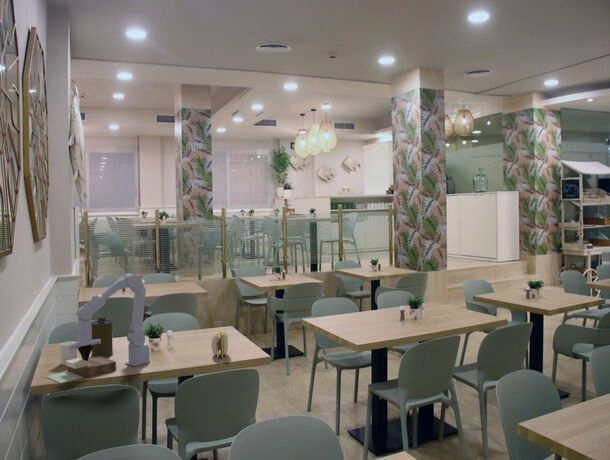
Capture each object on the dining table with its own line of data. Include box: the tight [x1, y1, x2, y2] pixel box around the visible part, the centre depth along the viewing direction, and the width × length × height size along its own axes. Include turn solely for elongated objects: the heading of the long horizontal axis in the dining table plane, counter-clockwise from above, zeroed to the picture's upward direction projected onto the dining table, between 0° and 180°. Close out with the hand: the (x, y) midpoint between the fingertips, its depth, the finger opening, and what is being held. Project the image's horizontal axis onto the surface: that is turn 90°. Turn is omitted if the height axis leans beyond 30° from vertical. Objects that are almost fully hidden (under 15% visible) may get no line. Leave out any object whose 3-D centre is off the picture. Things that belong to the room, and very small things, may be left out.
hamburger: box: [211, 329, 229, 359], centre depth 266 cm, size 12×8×12 cm
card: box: [65, 357, 88, 369], centre depth 236 cm, size 6×9×2 cm, turn 50°
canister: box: [90, 315, 114, 358], centre depth 267 cm, size 11×10×20 cm
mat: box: [45, 370, 84, 384], centre depth 231 cm, size 10×14×1 cm
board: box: [67, 356, 117, 379], centre depth 241 cm, size 15×16×4 cm
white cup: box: [59, 340, 78, 366], centre depth 253 cm, size 8×8×10 cm
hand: (85, 361), depth 239 cm, fingers closed
